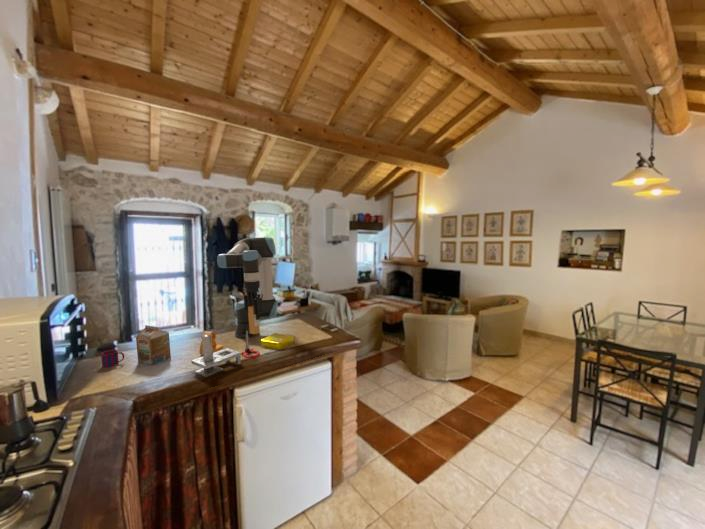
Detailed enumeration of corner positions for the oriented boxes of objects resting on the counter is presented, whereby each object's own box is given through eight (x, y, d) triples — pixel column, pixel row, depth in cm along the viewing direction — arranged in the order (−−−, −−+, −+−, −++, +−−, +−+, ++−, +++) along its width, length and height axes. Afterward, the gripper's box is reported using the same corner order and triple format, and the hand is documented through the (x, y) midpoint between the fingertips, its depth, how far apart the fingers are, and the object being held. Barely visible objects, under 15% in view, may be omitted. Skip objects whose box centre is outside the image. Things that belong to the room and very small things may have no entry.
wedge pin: (255, 331, 160) (253, 305, 158) (259, 332, 158) (258, 306, 156) (249, 333, 157) (248, 306, 155) (254, 334, 155) (252, 307, 153)
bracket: (210, 356, 166) (209, 335, 165) (199, 355, 168) (198, 334, 167) (224, 349, 176) (222, 329, 175) (213, 348, 178) (212, 328, 177)
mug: (109, 362, 161) (107, 350, 160) (128, 361, 161) (127, 349, 160) (98, 367, 154) (97, 354, 154) (118, 367, 154) (117, 354, 154)
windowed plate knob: (227, 358, 162) (225, 326, 161) (241, 363, 156) (239, 329, 154) (192, 372, 147) (189, 336, 145) (206, 378, 140) (203, 340, 138)
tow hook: (262, 355, 168) (253, 350, 174) (262, 332, 166) (252, 328, 172) (248, 360, 162) (239, 355, 168) (248, 336, 160) (239, 332, 166)
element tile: (294, 342, 188) (294, 334, 187) (280, 350, 174) (279, 342, 174) (275, 339, 194) (275, 331, 193) (259, 347, 180) (259, 339, 180)
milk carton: (138, 363, 159) (135, 328, 157) (157, 355, 169) (154, 322, 167) (151, 366, 155) (148, 330, 153) (170, 358, 165) (168, 324, 163)
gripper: (235, 280, 156) (238, 324, 158) (256, 282, 147) (258, 329, 149) (247, 278, 162) (250, 320, 165) (268, 280, 153) (270, 325, 155)
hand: (254, 325), depth 157 cm, fingers closed on wedge pin, 3 cm apart
